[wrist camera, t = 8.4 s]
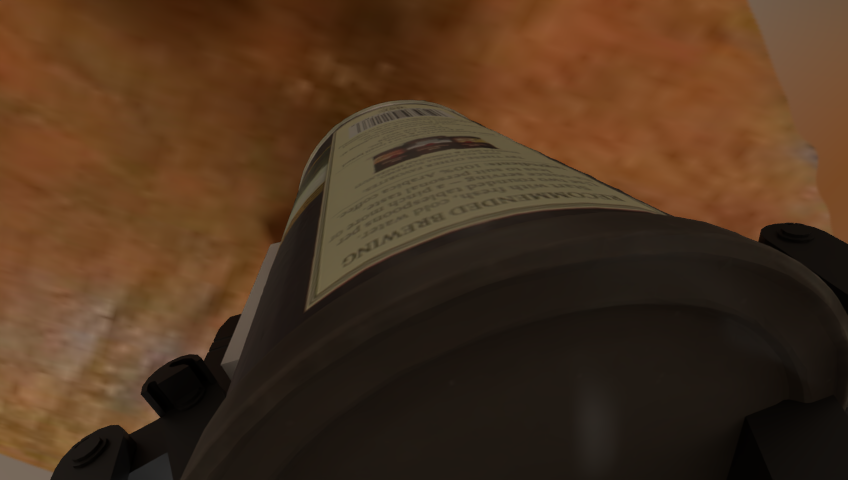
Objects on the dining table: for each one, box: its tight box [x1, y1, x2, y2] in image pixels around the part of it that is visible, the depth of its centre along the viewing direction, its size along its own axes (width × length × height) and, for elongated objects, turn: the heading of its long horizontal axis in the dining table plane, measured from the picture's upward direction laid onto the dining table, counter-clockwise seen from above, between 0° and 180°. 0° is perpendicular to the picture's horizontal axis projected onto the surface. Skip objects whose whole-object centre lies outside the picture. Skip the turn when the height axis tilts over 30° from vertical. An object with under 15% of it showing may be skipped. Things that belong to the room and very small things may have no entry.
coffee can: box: [180, 100, 848, 480], centre depth 12 cm, size 10×10×14 cm
